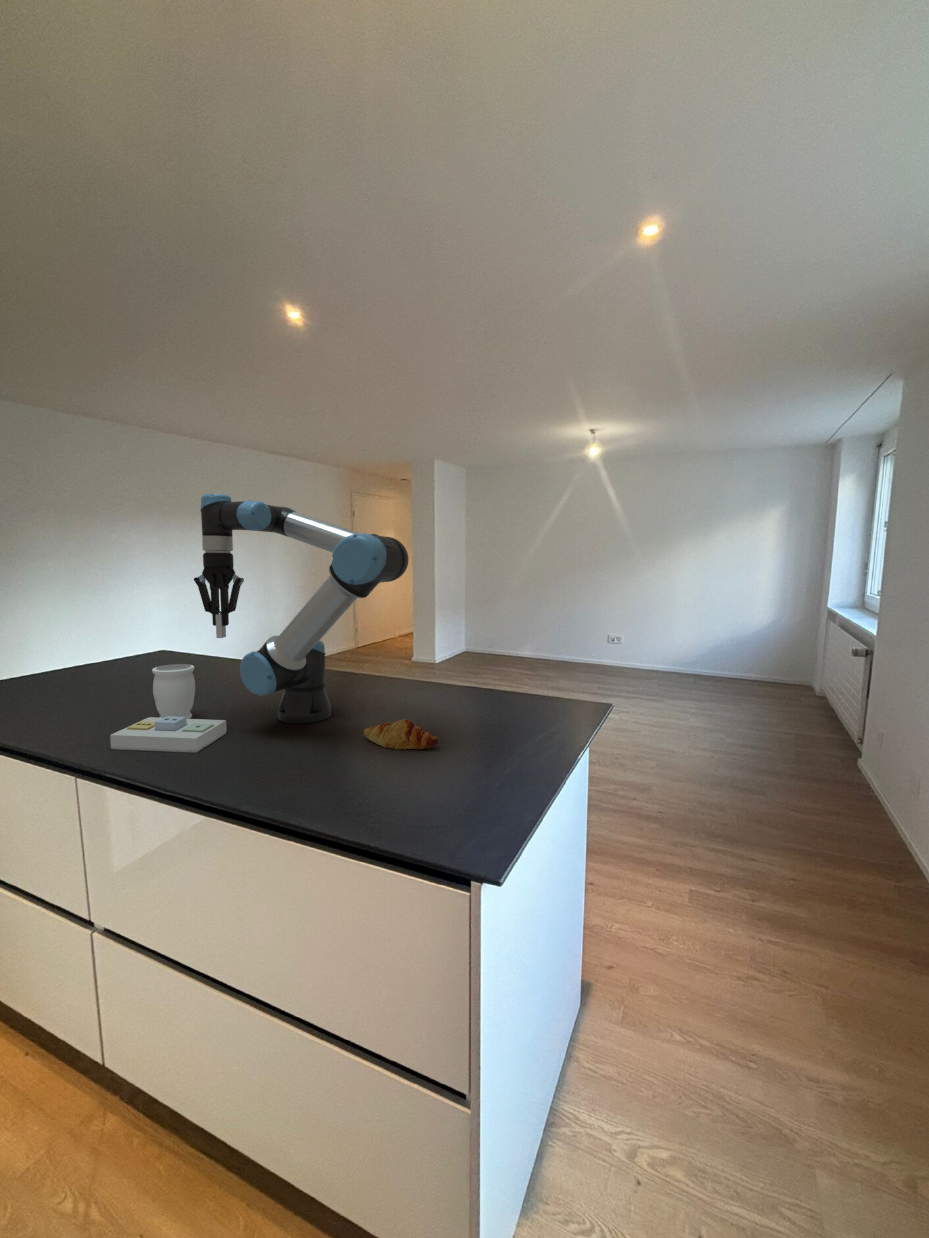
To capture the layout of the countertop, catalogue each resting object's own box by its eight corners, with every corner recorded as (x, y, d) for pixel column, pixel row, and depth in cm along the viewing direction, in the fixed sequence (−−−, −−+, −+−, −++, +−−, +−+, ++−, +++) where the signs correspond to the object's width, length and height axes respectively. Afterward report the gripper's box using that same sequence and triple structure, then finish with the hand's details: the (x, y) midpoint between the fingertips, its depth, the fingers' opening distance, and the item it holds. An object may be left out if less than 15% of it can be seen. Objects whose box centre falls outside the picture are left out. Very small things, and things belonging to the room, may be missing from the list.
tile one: (213, 735, 131) (213, 723, 131) (202, 742, 126) (202, 729, 126) (194, 734, 131) (194, 722, 131) (183, 741, 126) (182, 729, 126)
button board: (226, 733, 136) (226, 720, 135) (196, 752, 122) (196, 738, 121) (149, 730, 137) (148, 717, 136) (111, 749, 123) (110, 734, 122)
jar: (183, 725, 141) (181, 671, 139) (145, 724, 141) (143, 670, 140) (203, 713, 152) (201, 664, 150) (168, 712, 152) (166, 663, 150)
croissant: (358, 754, 132) (350, 732, 128) (375, 726, 140) (367, 705, 136) (434, 765, 126) (428, 742, 121) (447, 735, 133) (442, 713, 129)
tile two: (186, 728, 131) (186, 716, 131) (174, 734, 126) (174, 722, 126) (167, 727, 131) (167, 715, 131) (155, 734, 127) (154, 721, 126)
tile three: (160, 733, 132) (159, 721, 131) (147, 739, 127) (147, 727, 126) (141, 732, 132) (140, 720, 132) (127, 739, 127) (127, 727, 127)
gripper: (247, 552, 144) (250, 635, 147) (200, 552, 144) (203, 635, 146) (236, 552, 137) (239, 639, 139) (187, 551, 137) (190, 639, 139)
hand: (221, 637), depth 143 cm, fingers closed
